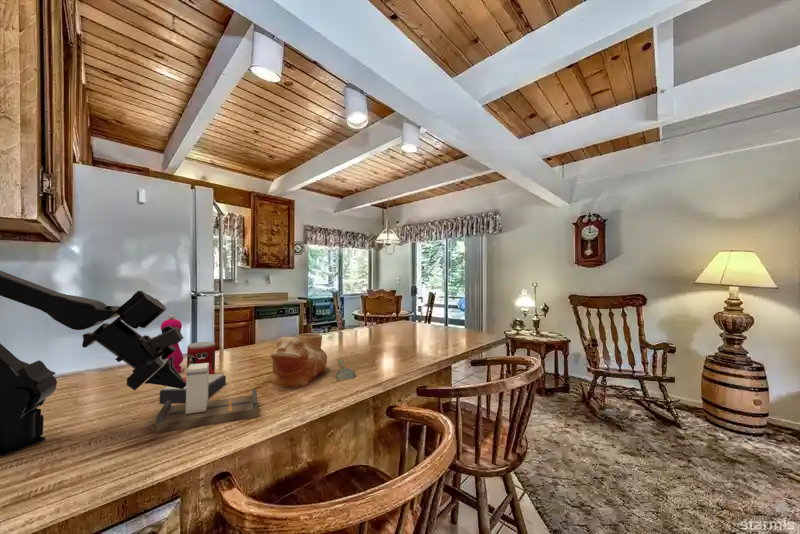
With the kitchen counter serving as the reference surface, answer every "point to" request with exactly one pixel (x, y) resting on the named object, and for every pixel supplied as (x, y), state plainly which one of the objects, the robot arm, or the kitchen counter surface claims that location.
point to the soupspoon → (344, 372)
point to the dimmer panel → (206, 413)
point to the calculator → (180, 394)
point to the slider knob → (197, 387)
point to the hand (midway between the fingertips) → (184, 386)
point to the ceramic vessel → (298, 360)
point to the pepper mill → (177, 353)
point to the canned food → (202, 354)
